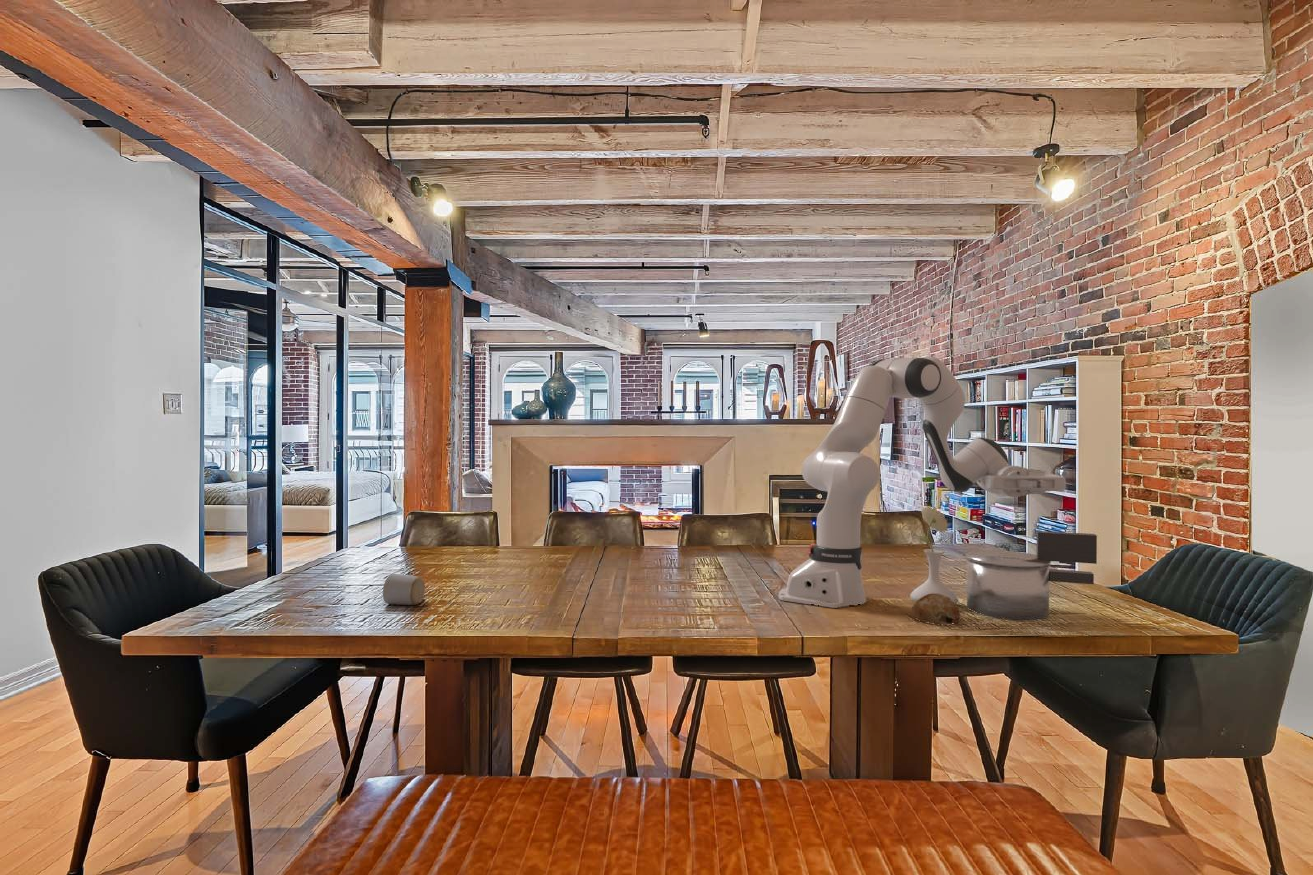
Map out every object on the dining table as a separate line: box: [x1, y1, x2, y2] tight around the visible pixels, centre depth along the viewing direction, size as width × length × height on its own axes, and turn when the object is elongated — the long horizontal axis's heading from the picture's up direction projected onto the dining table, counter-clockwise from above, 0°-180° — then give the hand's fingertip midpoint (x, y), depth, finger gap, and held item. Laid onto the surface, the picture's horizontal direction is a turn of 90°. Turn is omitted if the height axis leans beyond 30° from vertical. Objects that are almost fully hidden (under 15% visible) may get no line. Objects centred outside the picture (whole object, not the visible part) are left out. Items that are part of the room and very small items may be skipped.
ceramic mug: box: [382, 573, 426, 606], centre depth 173 cm, size 11×8×8 cm
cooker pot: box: [966, 559, 1095, 622], centre depth 164 cm, size 27×18×12 cm, turn 68°
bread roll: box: [911, 593, 961, 626], centre depth 157 cm, size 10×10×8 cm
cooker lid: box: [965, 530, 1098, 568], centre depth 164 cm, size 28×19×8 cm
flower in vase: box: [909, 505, 959, 604], centre depth 172 cm, size 13×11×25 cm
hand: (1038, 484), depth 177 cm, fingers closed
